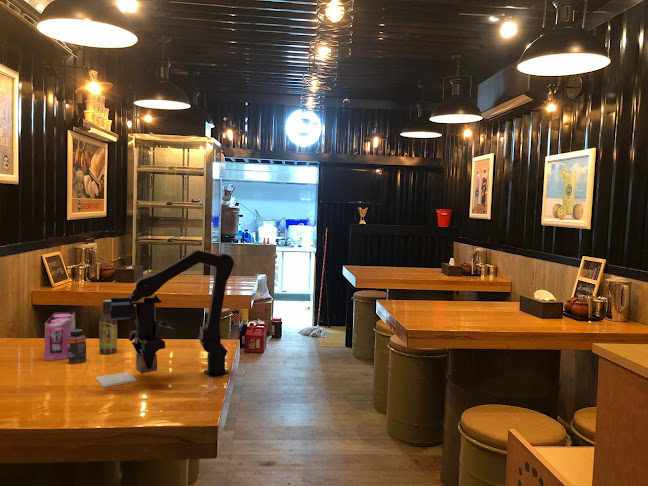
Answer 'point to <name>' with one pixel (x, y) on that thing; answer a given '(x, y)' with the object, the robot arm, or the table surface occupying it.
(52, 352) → the gum box
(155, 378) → the table surface
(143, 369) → the walnut cube
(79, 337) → the supplement bottle
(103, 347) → the sauce bottle
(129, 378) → the stone coaster
